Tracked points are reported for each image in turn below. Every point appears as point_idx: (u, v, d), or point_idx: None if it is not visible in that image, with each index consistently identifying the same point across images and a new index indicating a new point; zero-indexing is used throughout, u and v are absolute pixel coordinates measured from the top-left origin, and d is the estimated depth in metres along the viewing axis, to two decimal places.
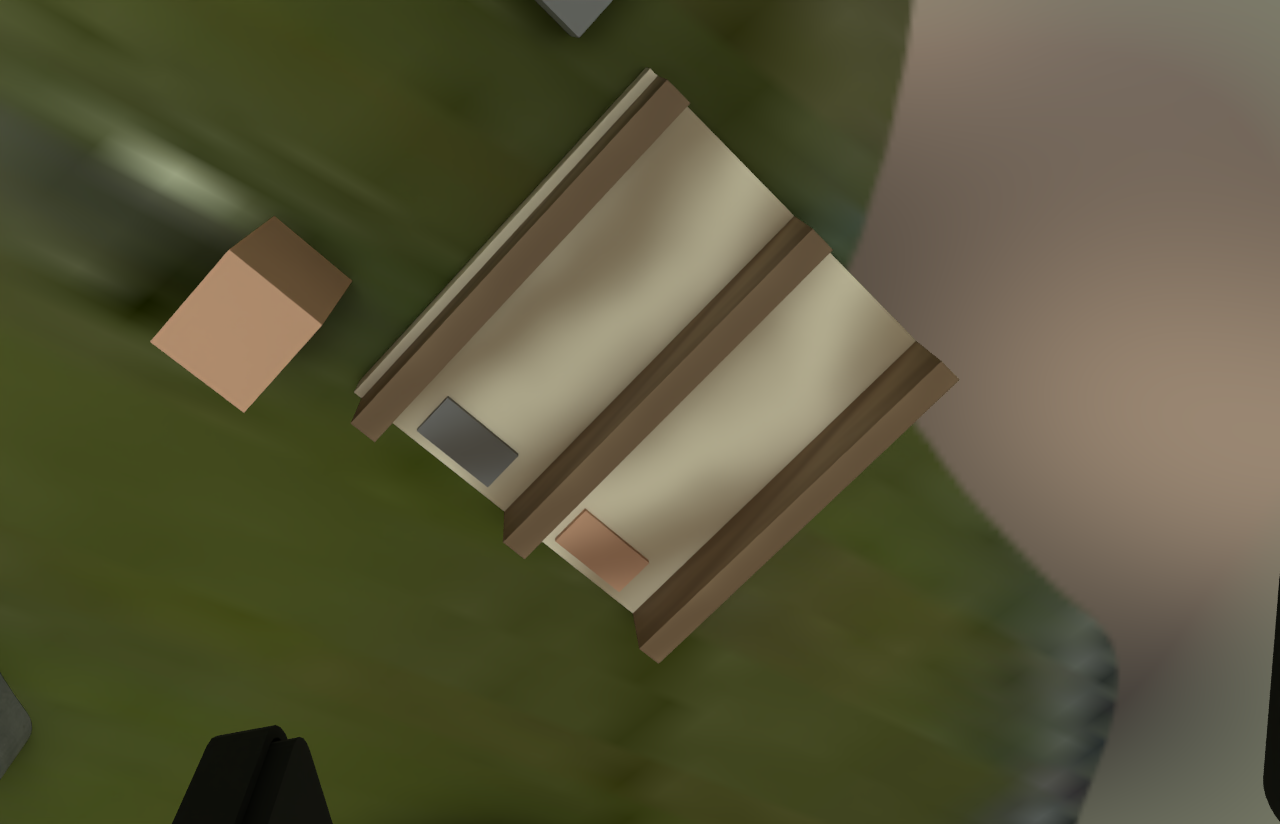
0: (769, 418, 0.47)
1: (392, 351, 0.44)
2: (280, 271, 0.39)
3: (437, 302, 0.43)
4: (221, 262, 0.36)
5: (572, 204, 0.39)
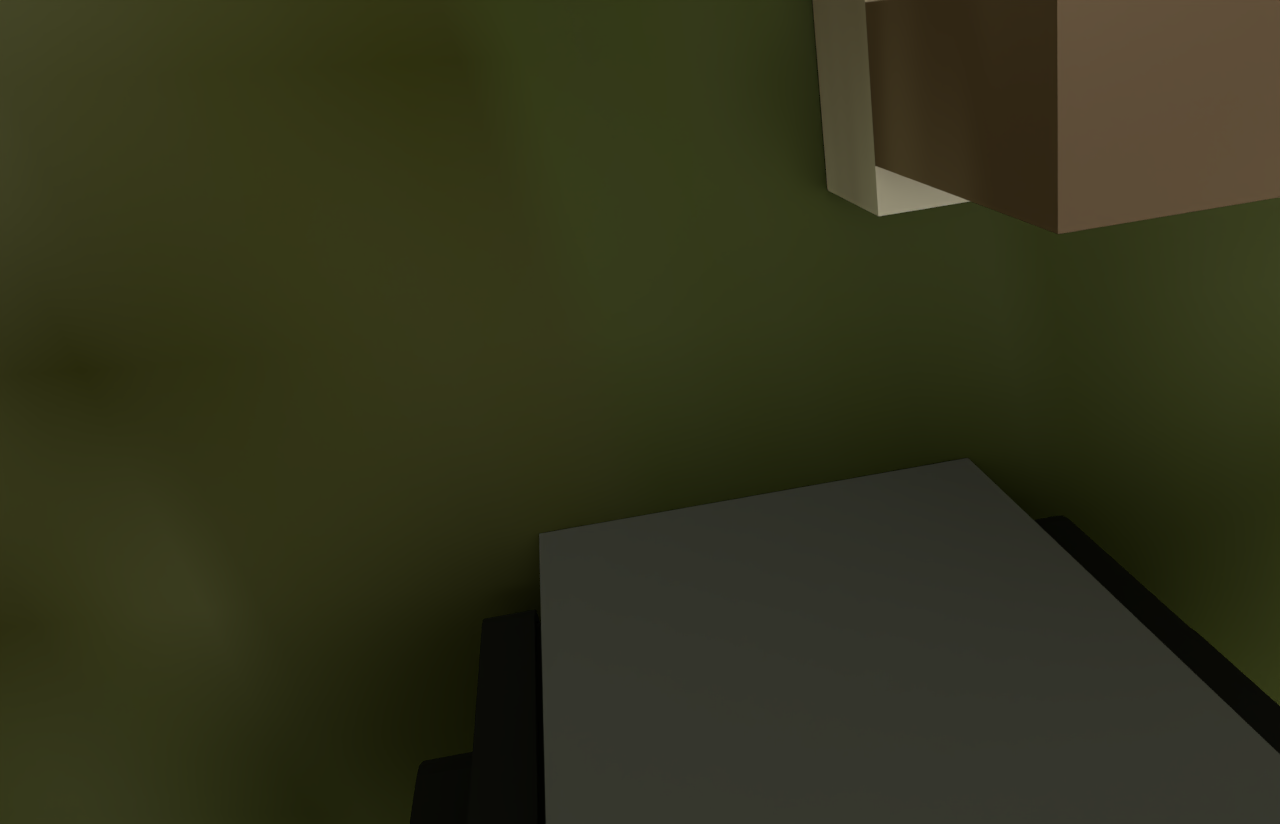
0: None
1: None
2: None
3: None
4: None
5: None
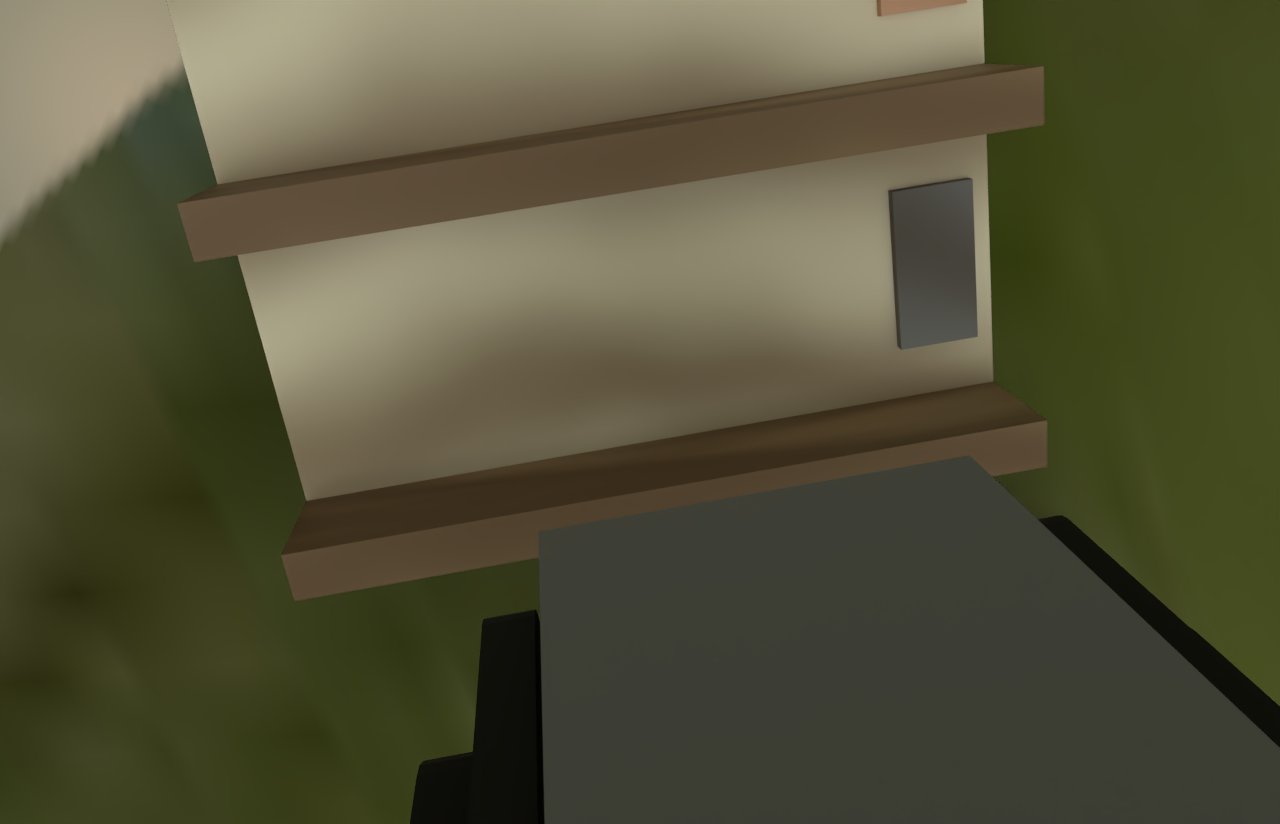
0: None
1: None
2: None
3: None
4: None
5: (534, 536, 0.24)
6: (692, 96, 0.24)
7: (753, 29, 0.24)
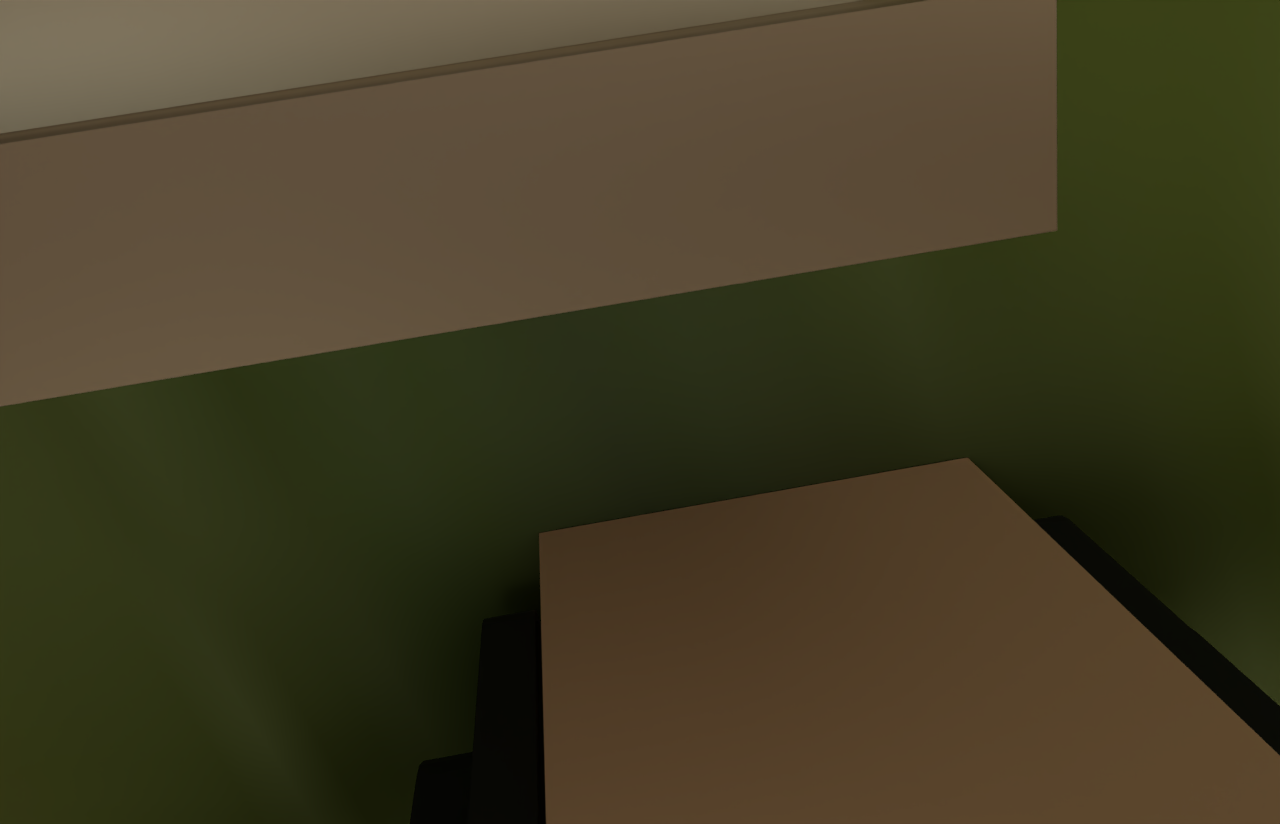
0: None
1: None
2: None
3: None
4: None
5: None
6: None
7: None
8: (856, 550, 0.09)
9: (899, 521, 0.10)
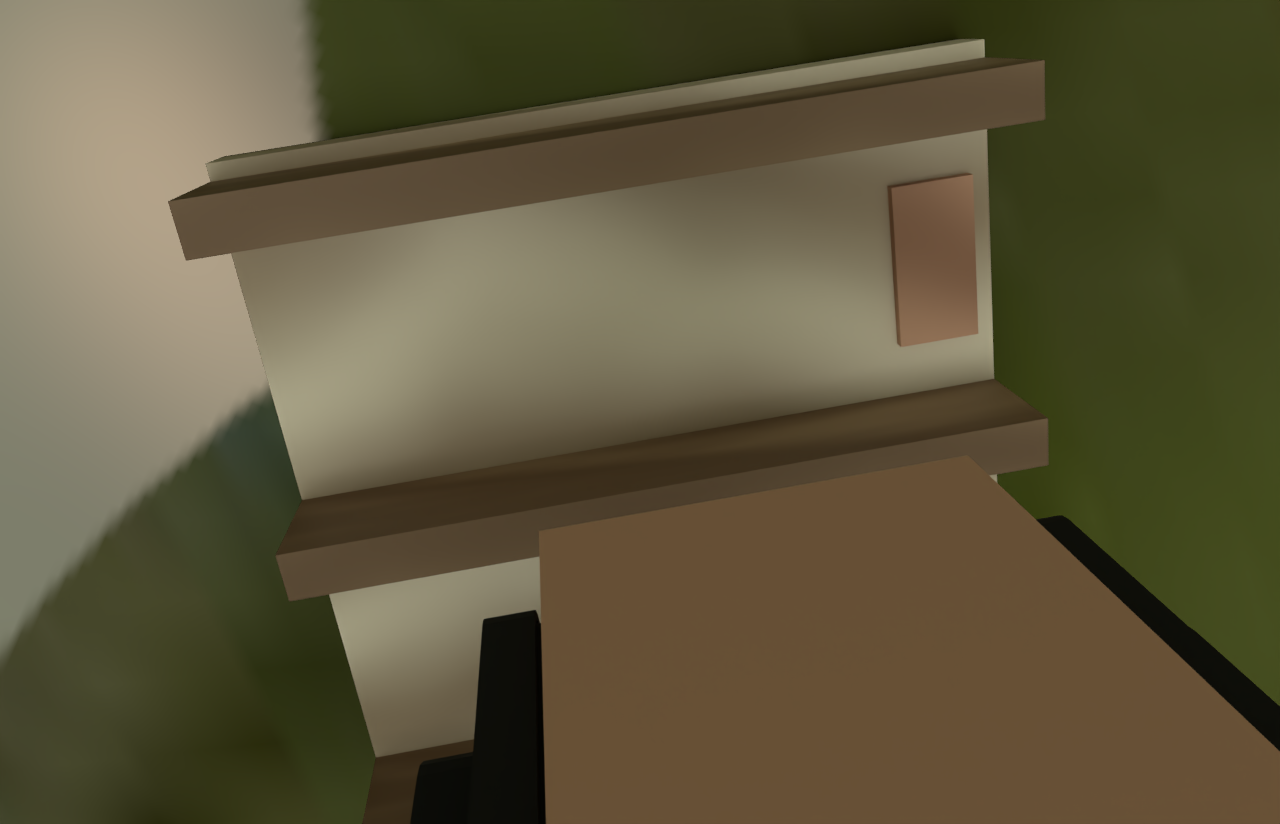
0: (540, 279, 0.25)
1: None
2: None
3: None
4: None
5: None
6: (729, 414, 0.27)
7: (785, 358, 0.26)
8: (856, 548, 0.09)
9: (899, 519, 0.10)
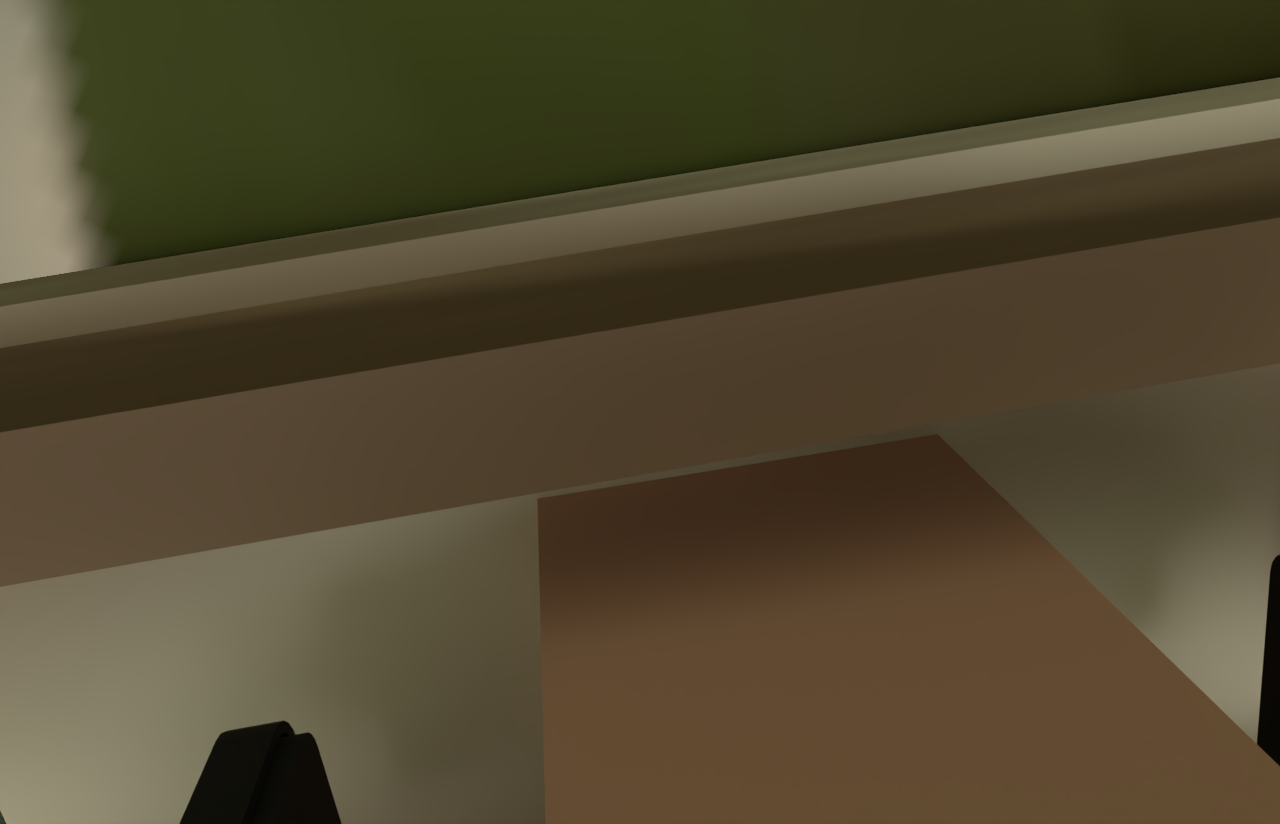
0: None
1: None
2: None
3: None
4: None
5: None
6: None
7: None
8: (830, 514, 0.10)
9: (871, 489, 0.11)
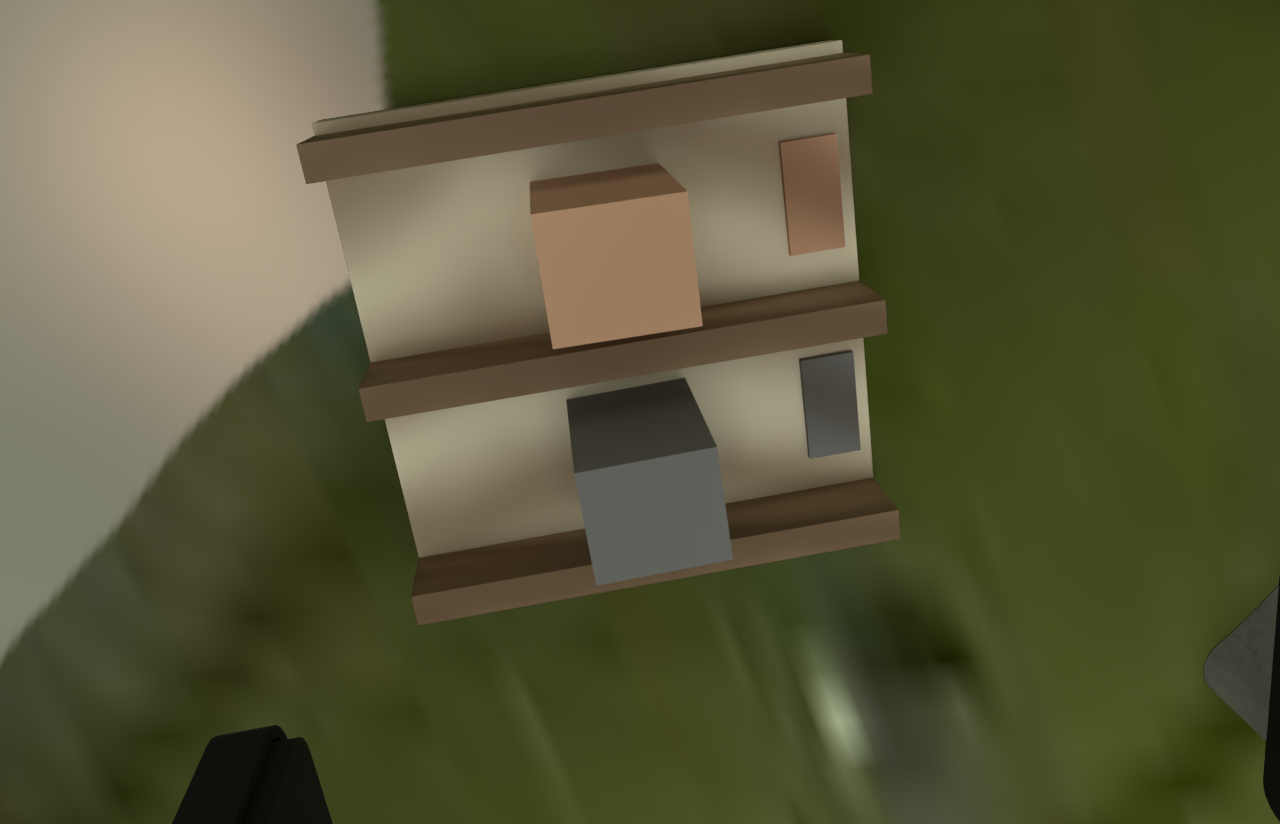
0: None
1: None
2: None
3: None
4: (570, 343, 0.31)
5: (570, 584, 0.38)
6: None
7: (709, 263, 0.38)
8: (615, 175, 0.35)
9: (630, 171, 0.35)
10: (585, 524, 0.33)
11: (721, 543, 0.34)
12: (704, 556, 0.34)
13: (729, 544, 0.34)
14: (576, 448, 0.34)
